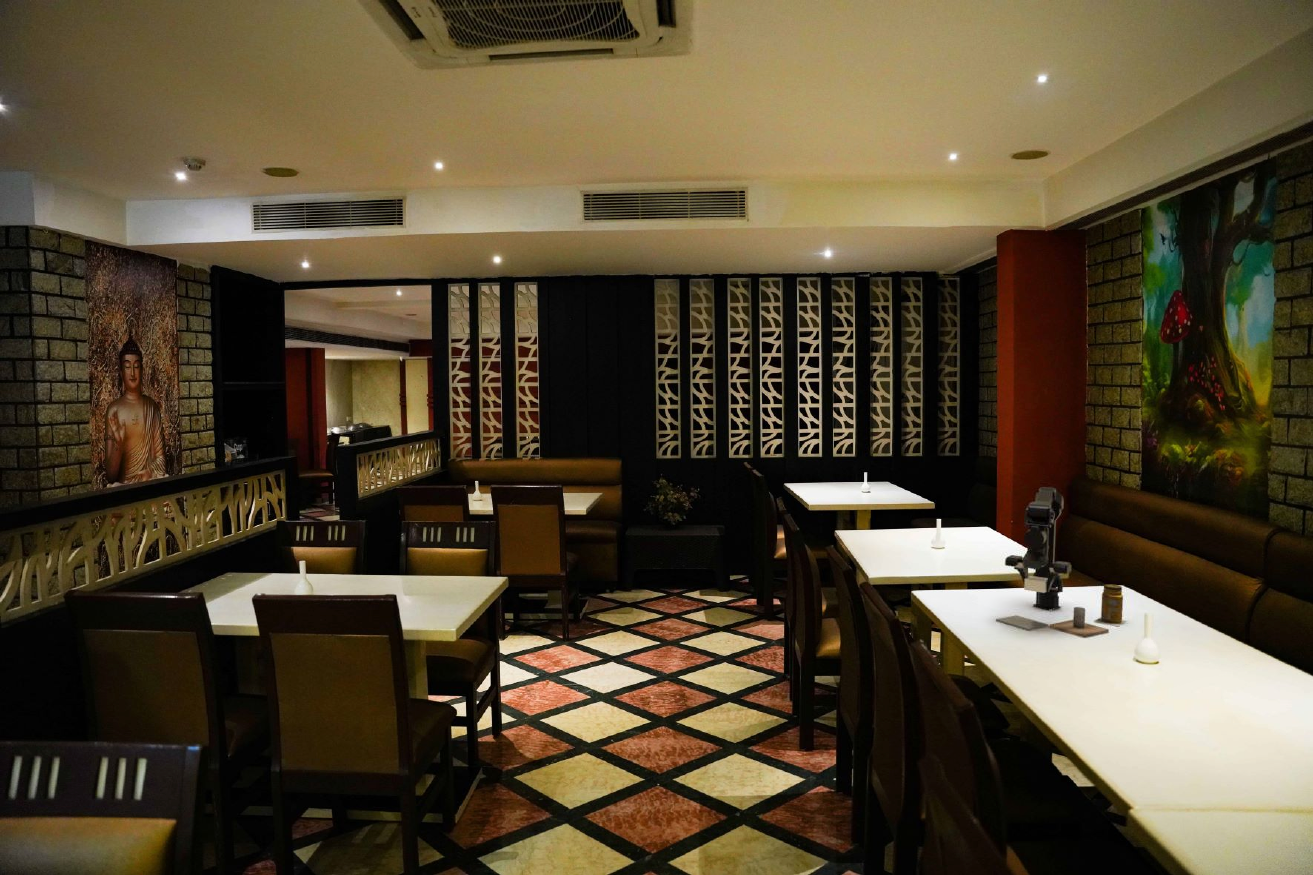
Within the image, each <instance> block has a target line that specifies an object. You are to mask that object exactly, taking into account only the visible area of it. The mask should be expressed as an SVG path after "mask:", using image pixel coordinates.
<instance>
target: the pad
mask: <svg viewBox="0 0 1313 875" xmlns="http://www.w3.org/2000/svg"><path fill="white" fill-rule="evenodd" d="M995 621H996V622H998V623H1001V624H1005V625H1009V626H1012V627H1014V626H1015V627H1014V628H1018V629H1021V628H1022V629H1021V630H1024V629H1025V631H1027V632H1028V631H1029V632H1030V631H1033V629H1034V630H1037V628H1039V629H1042V628H1047V626H1048V627H1049V625H1050V624H1047V623H1045V622H1041V621H1039V620H1038V621H1037V620H1036V619H1035V620H1034V619H1031V618H1028V617H1024V616H1020V615H1010V616H1005V617H999V618H995Z"/></svg>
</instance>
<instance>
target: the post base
mask: <svg viewBox="0 0 1313 875" xmlns="http://www.w3.org/2000/svg"><path fill="white" fill-rule="evenodd" d="M1048 625H1049V626H1048V627H1049V628H1050V629H1052V628H1053V629H1052V630H1056V631H1059V632H1063V633H1067V634H1070V635H1074V636H1077V637H1080V638H1084V639H1086V638H1089V637H1090V638H1091V637H1095V636H1099V634H1100V635H1102V634H1108V633H1110V632H1109V630H1110V629H1109V628H1105V627H1102V626H1098V625H1094V624H1090V623H1087V622H1086V608H1084V607H1082V606H1081V607H1080V606H1075V607H1074V606H1073V619H1070V620H1066V621H1060V622H1056V623H1050V624H1048Z"/></svg>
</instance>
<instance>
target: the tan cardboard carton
mask: <svg viewBox="0 0 1313 875" xmlns="http://www.w3.org/2000/svg"><path fill="white" fill-rule="evenodd" d="M1047 579H1048V578H1041V577H1034V576H1032V575H1028V577H1027V578H1026V579H1025V586H1024V585H1023V586H1024V591H1030V592H1042V593H1045V592H1046V586H1047Z"/></svg>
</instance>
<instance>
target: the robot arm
mask: <svg viewBox="0 0 1313 875" xmlns="http://www.w3.org/2000/svg"><path fill="white" fill-rule="evenodd" d="M1063 496H1064V495H1062V494H1061V493H1059V492H1058V491H1057V489H1056V488H1054V487H1044V486H1043V487H1039V489H1038V491H1037V492H1036V494H1035V501H1031V502H1029V504H1028V506H1026V508H1025V512H1024V514H1025V515H1024V522H1023V526H1024V527H1025V526H1026V527H1028V530H1027V531H1026V532H1025V534H1024V537H1023V540H1024V543H1025V545H1027V551H1026V552H1025V553H1024V555H1023V556H1022V555H1014V554H1013V555H1012V554H1011V555H1009V556H1007V557H1005V559H1004V566H1007V567H1013V569H1014V570H1016V571H1017V572H1018V573H1019V575H1020V577H1021V580H1022V583H1023V586H1025V579H1026V578H1027V577H1029V569H1031V570H1032V569H1033V570H1034V572H1033V576H1034V577H1041V578H1048V579H1047V586H1046V592H1045V593H1042V592H1036V591H1035V592H1036V593H1035V603H1034V604H1032V606H1033V607H1036V608H1040V609H1044V610H1046V611H1052V610H1057V609H1061V605H1059V604H1060V603H1059V602H1060V596H1059V594H1060V593H1063V592H1064V591H1063V590H1064V587H1063V586H1064V585H1063V579H1062V578H1061V574H1063V575H1068V574H1069V573H1071V572H1072V564H1071V563H1070V562H1069V561H1068V562H1067V561H1061V560H1060V561H1058V560H1057V561H1055V552H1056V551H1055V548H1056V530H1057V529H1056V528H1057V526H1056V525H1057V523H1056V522H1057V520H1058V518H1059V517H1060V516H1061V515H1062V510H1063V509H1064V501H1065V500H1064V497H1063Z"/></svg>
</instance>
